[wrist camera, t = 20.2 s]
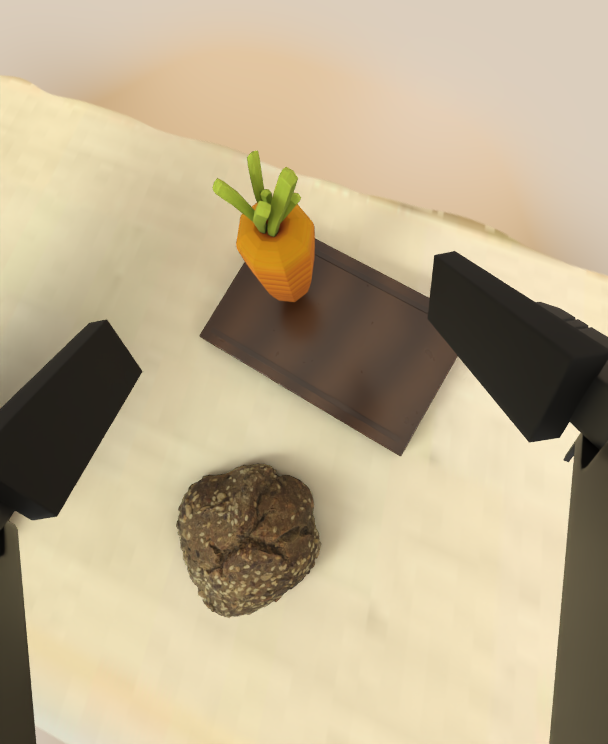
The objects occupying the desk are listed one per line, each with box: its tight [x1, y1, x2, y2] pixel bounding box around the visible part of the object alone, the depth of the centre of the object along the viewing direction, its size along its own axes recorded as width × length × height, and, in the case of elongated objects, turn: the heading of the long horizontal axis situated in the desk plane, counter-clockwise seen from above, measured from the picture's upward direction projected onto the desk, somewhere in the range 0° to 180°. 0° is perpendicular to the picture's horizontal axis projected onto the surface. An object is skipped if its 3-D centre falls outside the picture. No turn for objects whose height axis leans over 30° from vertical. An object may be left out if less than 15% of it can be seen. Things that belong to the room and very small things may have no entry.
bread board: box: [200, 239, 458, 456], centre depth 28 cm, size 22×14×2 cm, turn 59°
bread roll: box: [176, 464, 321, 618], centre depth 25 cm, size 13×12×5 cm
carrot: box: [213, 151, 315, 302], centre depth 20 cm, size 5×5×15 cm
